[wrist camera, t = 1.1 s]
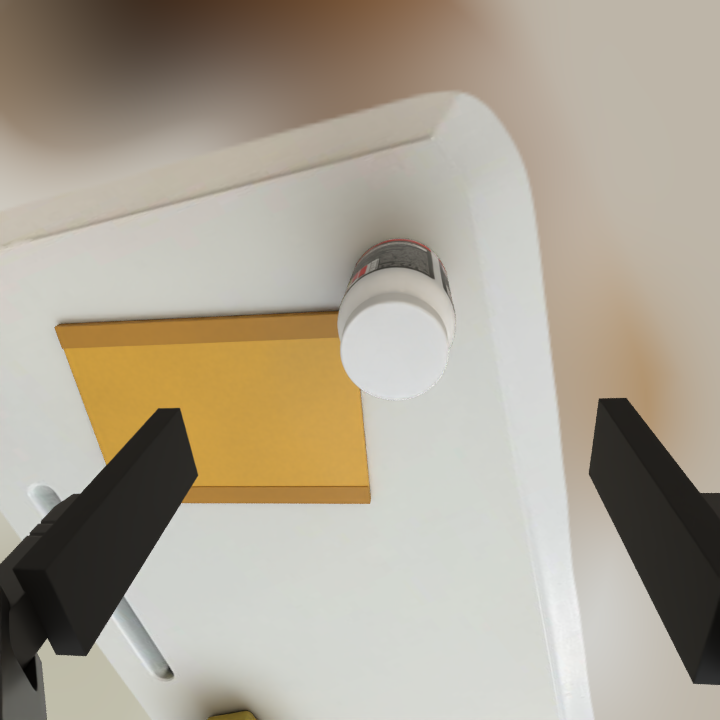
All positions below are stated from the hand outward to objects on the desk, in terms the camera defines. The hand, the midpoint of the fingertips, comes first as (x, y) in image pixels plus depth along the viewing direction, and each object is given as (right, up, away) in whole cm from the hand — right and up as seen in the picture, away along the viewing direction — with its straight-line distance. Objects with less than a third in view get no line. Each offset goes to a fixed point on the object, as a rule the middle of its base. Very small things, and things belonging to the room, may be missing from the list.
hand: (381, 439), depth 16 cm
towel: (-10, -1, +20) cm, 22 cm away
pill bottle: (+2, +7, +14) cm, 16 cm away
